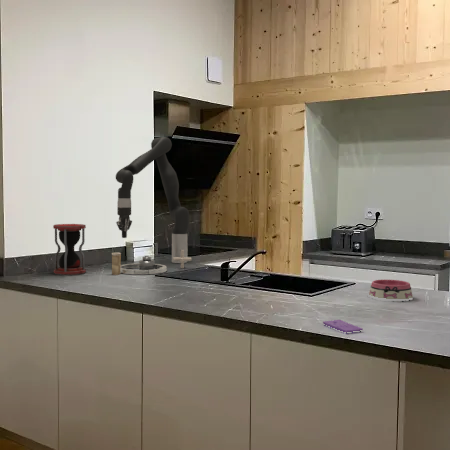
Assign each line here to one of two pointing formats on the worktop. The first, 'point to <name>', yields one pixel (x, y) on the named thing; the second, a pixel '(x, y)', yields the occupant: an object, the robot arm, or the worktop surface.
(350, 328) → the sponges
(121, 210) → the robot arm
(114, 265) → the gauge stand
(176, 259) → the pipe connector
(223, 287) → the worktop surface
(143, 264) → the cover
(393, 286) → the dog bowl
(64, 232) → the hourglass
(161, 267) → the ring
